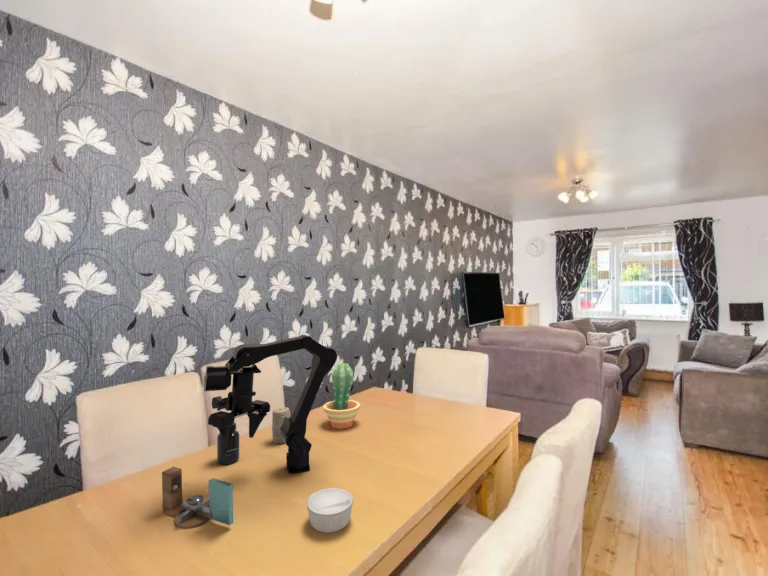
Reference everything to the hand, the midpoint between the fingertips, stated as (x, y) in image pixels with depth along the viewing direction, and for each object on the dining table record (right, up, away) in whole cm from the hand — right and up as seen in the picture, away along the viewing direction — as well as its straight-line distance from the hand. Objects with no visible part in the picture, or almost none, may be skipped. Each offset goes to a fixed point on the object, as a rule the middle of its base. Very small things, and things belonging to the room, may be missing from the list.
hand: (239, 442), depth 112 cm
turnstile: (-2, -11, -17) cm, 21 cm away
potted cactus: (+25, -11, +46) cm, 53 cm away
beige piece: (+4, -12, +30) cm, 32 cm away
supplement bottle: (-9, -12, +15) cm, 21 cm away
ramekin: (+29, -12, -18) cm, 36 cm away
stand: (-7, -12, -15) cm, 20 cm away
